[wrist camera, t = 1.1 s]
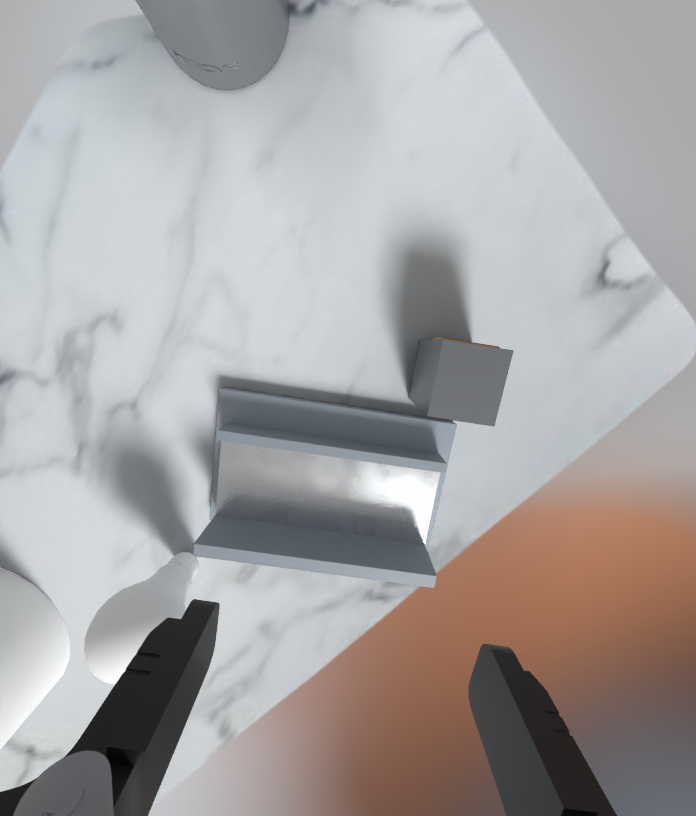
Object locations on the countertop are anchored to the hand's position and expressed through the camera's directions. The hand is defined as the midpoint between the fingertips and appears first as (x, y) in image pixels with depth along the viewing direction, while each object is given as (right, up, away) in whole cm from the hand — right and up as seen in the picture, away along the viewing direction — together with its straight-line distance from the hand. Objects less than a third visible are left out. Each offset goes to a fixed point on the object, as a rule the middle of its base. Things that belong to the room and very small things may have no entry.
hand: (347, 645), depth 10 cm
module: (+8, +10, +18) cm, 22 cm away
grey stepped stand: (-2, +2, +20) cm, 20 cm away
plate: (-2, 0, +19) cm, 19 cm away
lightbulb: (-15, -7, +22) cm, 28 cm away
